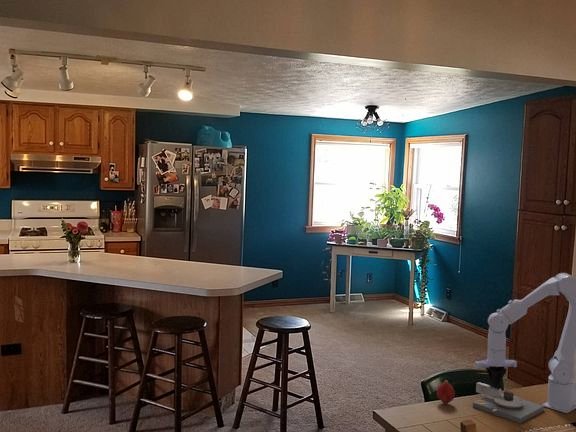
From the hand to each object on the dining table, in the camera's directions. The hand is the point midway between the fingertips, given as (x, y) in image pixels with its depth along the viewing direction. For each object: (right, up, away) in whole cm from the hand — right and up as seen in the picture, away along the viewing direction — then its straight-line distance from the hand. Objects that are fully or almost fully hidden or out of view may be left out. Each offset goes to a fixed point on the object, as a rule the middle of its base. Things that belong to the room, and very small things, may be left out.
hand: (495, 388), depth 185 cm
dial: (-1, -2, -5) cm, 6 cm away
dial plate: (+1, -4, -8) cm, 9 cm away
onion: (-18, -4, -5) cm, 19 cm away
